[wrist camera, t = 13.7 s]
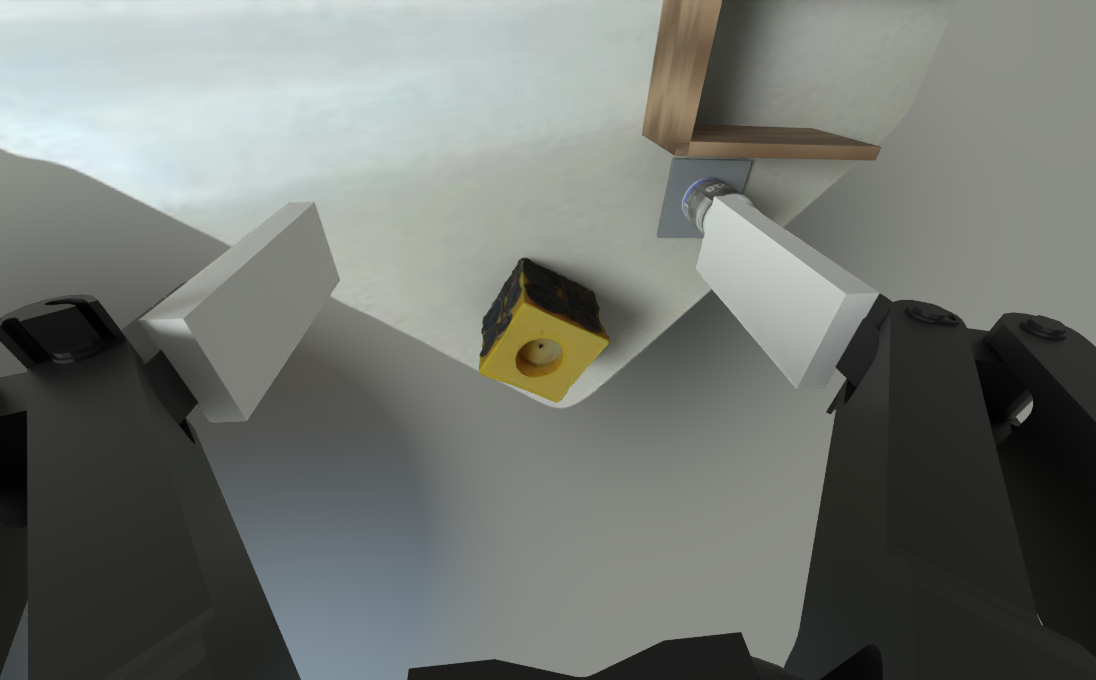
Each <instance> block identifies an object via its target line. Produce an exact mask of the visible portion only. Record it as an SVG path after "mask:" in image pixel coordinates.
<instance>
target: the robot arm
mask: <svg viewBox="0 0 1096 680" xmlns="http://www.w3.org/2000/svg"><path fill="white" fill-rule="evenodd" d="M696 270H697V272H698V273H699V274H700V275H701V276H702V278H703V279H704V280H705V281H706V282H707V283H708V285H709V286H710V287H711V288H712V289H713V291H714V292H715V293H716V294H717V295H718V296H719V298H720V299H721V300H722V301H723V302H724V304H725V305H726V306H727V307H728V308H729V309H730V311H731V312H732V313H733V314H734V315H735V316H736V318H737V319H738V320H739V321H740V323H741V324H742V325H743V326H744V327H745V329H746V330H747V331H748V332H749V333H750V334H751V336H752V337H753V338H754V339H755V340H756V341H757V342H758V344H759V345H760V346H761V347H762V349H763V350H764V351H765V352H766V353H767V355H768V356H769V357H770V358H771V359H772V360H773V362H774V363H775V364H776V365H777V366H778V367H779V369H780V370H781V371H782V372H783V374H784V375H785V376H786V377H787V378H788V379H789V381H790V382H791V383H792V384H793V385H794V387H795V388H796V389H805V388H822V387H826V385H827V383H828V381H829V380H830V378H831V376H832V375H833V373H834V371H835V369H836V368H837V369H838V370H839V371H840V372H841V373H842V374H843V375H844V376H845V377H846V378H847V379H846V380H845V382H844V384H843V385H842V387H841V389H840V390H839V392H838V394H837V395H836V397H835V398H834V400H833V402H832V403H831V405H830V407H829V408H828V410H827V413H829V414H831V413H832V412H833V411H834V410H836V413H835V419H834V425H833V431H832V437H831V443H830V450H829V455H828V461H827V467H826V473H825V479H824V485H823V491H822V497H821V502H820V509H819V515H818V521H817V527H816V532H815V539H814V544H813V551H812V556H811V562H810V568H809V574H808V581H807V586H806V593H805V598H804V605H803V610H802V616H801V622H800V628H799V632H798V637H797V639H796V642H795V645H794V647H793V649H792V651H791V653H790V655H789V657H788V659H787V661H786V664H785V666H784V668H782V667H780V666H778V665H775V664H773V663H770V662H767V661H764V660H761V659H759V658H755V657H752V656H750V653H749V651H748V648H747V646H746V643H745V641H744V638H743V636H742V633H741V632H740V633H739V632H738V633H729V634H720V635H711V636H702V637H693V638H684V639H674V640H666V641H662V642H660V643H658V644H656V645H654V646H652V647H650V648H648V649H646V650H643V651H641V652H639V653H637V654H635V655H633V656H631V657H629V658H627V659H625V660H623V661H621V662H619V663H616V664H614V665H612V666H610V667H608V668H606V669H604V670H602V671H600V672H598V673H596V674H593V675H591V676H588V677H574V676H570V675H565V674H560V673H555V672H551V671H546V670H541V669H537V668H533V667H528V666H523V665H519V664H514V663H509V662H505V661H500V660H496V659H493V660H483V661H474V662H465V663H456V664H447V665H438V666H430V667H420V668H412V669H409V672H408V679H407V680H1096V347H1095V346H1094V345H1093V344H1092V343H1091V342H1089V341H1088V340H1087V339H1086V338H1085V337H1083V336H1082V335H1080V334H1079V333H1078V332H1076V331H1074V330H1073V329H1071V328H1068V327H1066V326H1065V325H1064V324H1062V323H1061V322H1059V321H1057V320H1054V319H1050V318H1048V317H1044V316H1040V315H1038V316H1034V315H1029V314H1023V313H1007V314H1003V315H1002V317H1001V318H1000V319H999V320H998V321H997V322H996V324H995V325H994V326H993V327H992V329H991V330H990V331H984V330H976V329H969V328H966V325H965V323H964V322H963V321H962V319H961V318H959V317H958V316H957V315H955V314H953V313H952V312H949V311H947V310H945V309H943V308H941V307H939V306H937V305H934V304H930V303H925V302H920V301H914V300H899V301H895V302H892V301H890V300H889V299H888V298H886V297H885V296H883V295H882V294H880V293H879V292H878V291H876V290H874V289H873V288H872V287H870V286H869V285H867V284H866V283H864V282H863V281H861V280H860V279H858V278H857V277H855V276H854V275H852V274H851V273H849V272H848V271H846V270H845V269H843V268H842V267H840V266H839V265H837V264H836V263H834V262H833V261H831V260H830V259H828V258H827V257H825V256H824V255H822V254H821V253H820V252H818V251H817V250H815V249H814V248H812V247H810V246H809V245H808V244H806V243H804V242H803V241H802V240H800V239H799V238H797V237H796V236H794V235H793V234H791V233H790V232H788V231H787V230H785V229H784V228H782V227H781V226H779V225H778V224H776V223H775V222H773V221H772V220H770V219H769V218H767V217H766V216H764V215H763V214H761V213H760V212H759V211H757V210H756V209H754V208H753V207H751V206H750V205H748V204H747V203H745V202H744V201H742V200H741V199H739V198H738V197H736V196H714V199H713V203H712V207H711V211H710V215H709V219H708V223H707V227H706V230H705V234H704V238H703V242H702V246H701V250H700V254H699V258H698V262H697V266H696ZM339 281H340V279H339V276H338V273H337V270H336V266H335V263H334V260H333V257H332V254H331V251H330V248H329V245H328V242H327V239H326V236H325V233H324V230H323V227H322V224H321V221H320V218H319V214H318V211H317V208H316V205H315V202H299V203H288V204H287V205H285V206H284V207H283V208H282V209H280V210H279V211H278V212H276V213H275V214H274V215H273V216H271V217H270V218H269V219H267V220H266V221H265V222H264V223H262V224H261V225H260V226H258V227H257V228H256V229H255V230H253V231H252V232H251V233H249V234H248V235H247V236H246V237H244V238H243V239H242V240H240V241H239V242H238V243H237V244H235V245H234V246H233V247H231V248H230V249H229V250H228V251H227V252H225V253H224V254H223V255H221V256H220V257H219V258H217V259H216V260H215V261H214V262H212V263H211V264H210V265H208V266H207V267H206V268H205V269H203V270H202V271H201V272H199V273H198V274H197V275H196V276H195V277H193V278H192V279H190V280H189V281H187V282H185V283H183V284H181V285H179V286H178V287H177V288H175V289H174V290H173V291H171V292H170V293H169V294H168V295H166V298H162V299H161V300H160V301H159V302H157V303H156V304H155V305H154V307H151V308H149V309H148V310H147V311H146V312H144V313H143V314H142V315H140V316H139V317H138V318H136V319H135V320H134V321H133V322H131V323H130V324H129V325H128V326H126V327H125V328H124V329H122V330H120V329H119V327H118V326H117V325H116V324H115V322H114V321H113V320H112V318H111V317H110V316H109V314H108V313H107V312H106V310H105V309H104V308H103V306H102V305H101V304H100V303H99V301H98V300H97V299H96V298H95V297H93V296H88V295H71V296H70V295H69V296H62V297H57V298H52V299H47V300H43V301H40V302H37V303H33V304H30V305H27V306H24V307H22V308H19V309H17V310H15V311H12V312H10V313H8V314H6V315H5V316H3V317H1V318H0V342H2V344H3V345H4V346H5V347H6V348H7V349H8V350H9V351H10V352H11V353H13V355H14V356H15V357H16V358H17V359H18V360H19V361H21V363H22V364H23V365H24V366H25V367H26V368H27V372H25V373H20V374H15V375H10V376H5V377H0V675H1V672H2V670H3V667H4V664H5V661H6V659H7V656H8V653H9V650H10V647H11V645H12V642H13V639H14V636H15V633H16V631H17V628H18V625H19V622H20V620H21V616H22V614H23V611H24V608H25V606H26V603H27V600H28V680H301V679H300V676H299V674H298V672H297V670H296V667H295V665H294V663H293V660H292V658H291V655H290V653H289V651H288V648H287V646H286V643H285V641H284V639H283V636H282V634H281V632H280V629H279V627H278V625H277V622H276V620H275V617H274V615H273V613H272V610H271V608H270V606H269V603H268V601H267V599H266V596H265V594H264V592H263V589H262V587H261V584H260V582H259V580H258V577H257V575H256V573H255V571H254V568H253V565H252V563H251V561H250V558H249V556H248V554H247V551H246V549H245V547H244V544H243V542H242V540H241V537H240V535H239V532H238V530H237V528H236V525H235V523H234V521H233V518H232V516H231V513H230V511H229V509H228V507H227V504H226V502H225V499H224V497H223V495H222V492H221V490H220V488H219V485H218V483H217V480H216V478H215V476H214V473H213V471H212V469H211V466H210V464H209V461H208V459H207V457H206V454H205V452H204V450H203V447H202V445H201V443H200V440H199V438H198V435H197V433H196V431H195V428H194V427H193V426H192V425H191V423H190V422H189V421H188V419H187V418H186V416H187V415H188V414H189V413H190V412H191V411H192V409H193V408H194V407H195V406H196V405H197V404H198V406H199V407H200V408H201V410H202V411H203V413H204V414H205V415H206V417H207V418H208V420H209V421H210V423H215V422H231V421H232V422H233V421H247V420H248V418H249V417H250V415H251V414H252V412H253V411H254V409H255V408H256V406H257V405H258V403H259V401H260V400H261V399H262V397H263V396H264V394H265V392H266V391H267V390H268V388H269V387H270V385H271V383H272V382H273V380H274V379H275V377H276V376H277V374H278V373H279V371H280V370H281V368H282V367H283V365H284V364H285V362H286V361H287V359H288V358H289V356H290V355H291V353H292V352H293V350H294V349H295V347H296V346H297V344H298V343H299V341H300V340H301V338H302V337H303V335H304V334H305V332H306V331H307V329H308V328H309V326H310V325H311V323H312V322H313V320H314V319H315V317H316V316H317V314H318V312H319V311H320V310H321V308H322V306H323V305H324V303H325V302H326V300H327V299H328V297H329V296H330V294H331V293H332V291H333V290H334V288H335V287H336V285H337V284H338V282H339ZM1032 400H1033V408H1032V411H1031V413H1030V415H1029V416H1028V417H1027V419H1025V421H1023V422H1022V423H1020V422H1019V421H1018V419H1017V418H1016V416H1017V415H1018V414H1019V413H1020V412H1021V411H1022V410H1023V409H1024V408H1025V407H1026V406H1027V405H1028V404H1029V403H1030V402H1031V401H1032ZM1037 614H1038V616H1039V618H1040V620H1041V622H1042V624H1043V625H1041V623H1040V620H1039V618H1038V616H1037Z"/></svg>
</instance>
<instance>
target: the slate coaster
mask: <svg viewBox="0 0 1096 680" xmlns="http://www.w3.org/2000/svg"><path fill="white" fill-rule="evenodd" d="M751 163H752V161H750V160H733V159H690V158H673V159H672V164H671V169H670V174H669V179H668V184H667V188H666V193H665V198H664V203H663V208H662V213H661V217H660V222H659V227H658V232H657V237H658V238H704V234H703V233H702V232H701V231H700V230H699V229H697V228H696V227H695V226H694V225H693V224H692V223H691V222H690V221H689V220H688V219H687V218H686V217H685V215H684V213H683V210H682V201H683V197H684V195H685V193H686V191H687V190H688V188H689V187H690V186H691V185H692V184H693V183H695V182H696V181H698V180H700V179H703V178H708V177H711V178H716V179H718V180H720V181H722V182H724V183H725V184H727V185H729V186H730V187H732V188H733V189H735V190H737V191H738V192H740V193H742V191H743V188H744V185H745V182H746V179H747V175H748V172H749V169H750V166H751Z"/></svg>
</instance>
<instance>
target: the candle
mask: <svg viewBox="0 0 1096 680" xmlns="http://www.w3.org/2000/svg"><path fill="white" fill-rule="evenodd" d="M481 333H482V335H483V343H482V348H483V349H482V351H481V353H480V363H479V373H480V374H481V375H484V376H486V377H489V378H492V379H495V380H498V381H502V382H505V383H508V384H510V385H513V386H516V387H518V388H521V389H524V390H527V391H529V392H532V393H535V394H537V395H539V396H542V397H544V398H546V399H549V400H551V401H554V402H556V403H557V402H559V401H561V400H562V399H563V397H564V396H565V394H566V393H567V391H568V390H569V388H570V387H571V386H572V385H573V384H574V383H575V382H576V380H577V379H578V378H579V377H580V375H581V374H582V373H583V372H584V371H585V370H586V368H587V367H588V366H589V365H590V364H591V363H592V362H593V361H594V360H595V359H596V358H597V357H598V355H599V354H600V353H601V352H602V351H603V350H604V349H605V348H606V347H607V345H608V344H609V337H608V336H607V334H606V332H605V329H604V327H603V326H602V325H601V323H600V321H599V306H598V305H597V301H596V298H595V294H594V293H593V291H588V290H587V289H586V288H584V287H581V286H579V285H578V284H577V283H575V282H572V281H570V280H568V279H567V278H565V277H563V276H560V275H557V274H556V273H555V272H551V271H550V270H548V269H545V268H542V267H540V266H538V265H535V264H534V263H532V262H531V261H530V260H529V259H524V258H522V259H520V260H519V261H518V265H517V266H516V267H515V269H514V270H513V271H512V274H511V276H510V277H509V279H508V280H507V282H505V284H504V286H503V288H502V289H501V292H500V293H499V295H498V297H497V298H496V300H495V301H494V302H493V303H492V307H491V309H490V310H489V311H488V313H487V315H485V316H484V318H483V328H482V332H481Z"/></svg>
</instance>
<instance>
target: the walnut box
mask: <svg viewBox="0 0 1096 680" xmlns="http://www.w3.org/2000/svg"><path fill="white" fill-rule="evenodd" d="M721 4H722V0H664V1H663V7H662V13H661V19H660V26H659V32H658V38H657V44H656V51H655V57H654V63H653V69H652V76H651V82H650V88H649V94H648V101H647V107H646V113H645V119H644V126H643V132H642V135H643V136H645V137H646V138H648V139H650V140H651V141H653V142H654V143H656V144H657V145H659V146H661V147H662V148H664V149H665V150H667V151H669V152H670V153H672V154H673V155H675V156H716V157H757V158H798V159H840V160H875V159H876V157H877V155H878V153H879V151H880V149H881V147H880V146H876V145H872V144H868V143H865V142H861V141H857V140H853V139H850V138H846V137H842V136H838V135H835V134H831V133H827V132H823V131H820V130H816V129H812V128H783V127H753V126H722V125H694V124H695V119H696V115H697V110H698V106H699V102H700V97H701V93H702V88H703V84H704V79H705V75H706V70H707V66H708V62H709V57H710V53H711V48H712V44H713V39H714V35H715V31H716V26H717V22H718V17H719V13H720V8H721Z"/></svg>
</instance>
